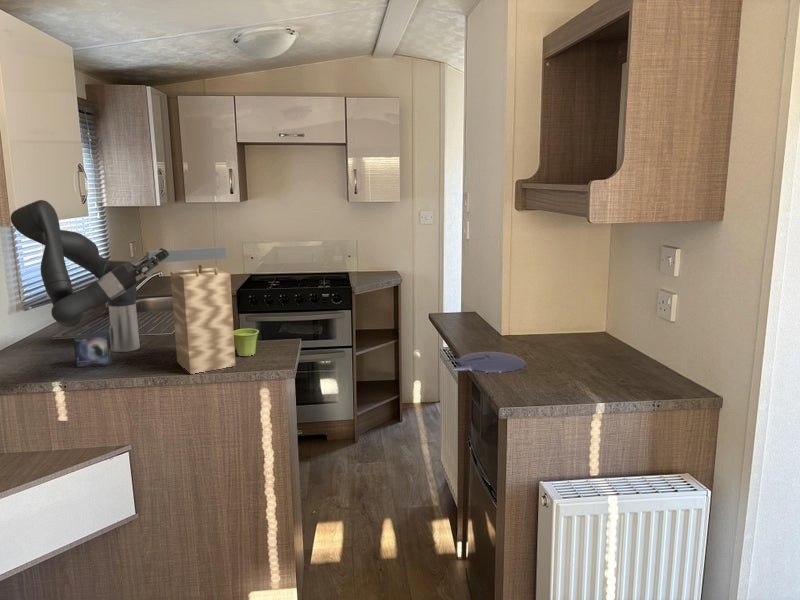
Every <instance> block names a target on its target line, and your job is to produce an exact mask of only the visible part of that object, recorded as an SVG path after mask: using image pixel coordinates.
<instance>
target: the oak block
mask: <svg viewBox="0 0 800 600" xmlns="http://www.w3.org/2000/svg"><path fill="white" fill-rule="evenodd" d="M169 272H170V285H171V286H170V287H171V294H172V295H171V296H172V297H171V298H172V309H173V311H172V312H173V324H174V336H175V350H176V362H177V363H178V364H179V365H180V366H181V368H183V369H184V368H185V369H186V370H187V371H188V372H189V373H190V374H193V375H196V374H195V373H199V372H204V373H206V372H205V371H210V370H216V369H222V368H226V367H232V366H236V352H235V351H236V350H235V348H236V346H235V338H234V331H235V330H234V316H233V315H234V314H233V313H234V312H233V299H232V297H233V296H232V281H231V280H232V279H231V273H229V272H227V271H224V270H221V269H219V268H218V266H214V267H207V268H202V264H199V265H198V268H195V269H183V270H171V271H169ZM185 369H184V370H185ZM186 370H185V371H186ZM222 370H223V369H222ZM187 371H186V372H187ZM216 371H217V370H216ZM188 372H187V373H188ZM210 372H211V371H210ZM189 373H188V374H189ZM190 374H189V375H190ZM199 374H200V373H199Z"/></svg>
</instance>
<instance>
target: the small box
mask: <svg viewBox="0 0 800 600" xmlns="http://www.w3.org/2000/svg"><path fill="white" fill-rule="evenodd" d="M72 340H73V347H74V355H75V356H74V357H75V358H74V359H75V366H76V367H75V368H89V367H107V366H111V363H112V362H113V356H112V355H113V354H112V351H111V340H110V331H108V332H92V333H77V334H76V335H75V336H74V337H73V339H72Z"/></svg>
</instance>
